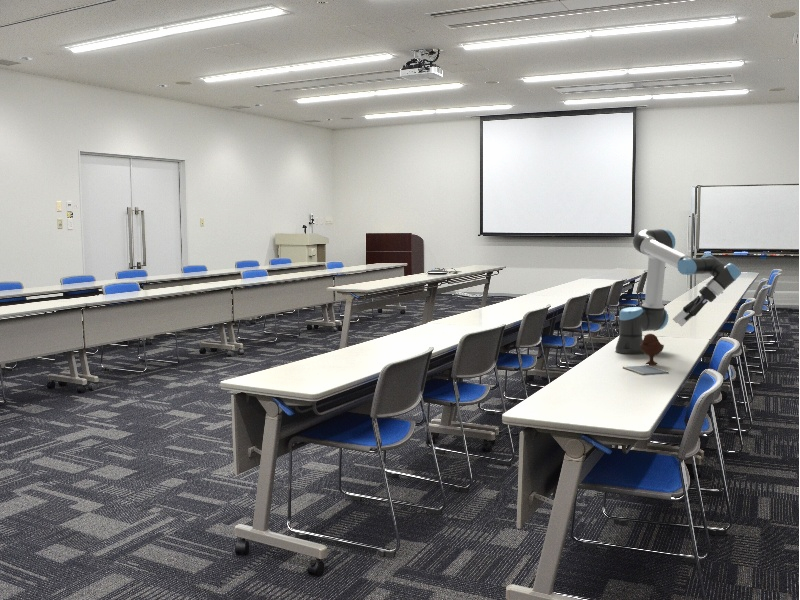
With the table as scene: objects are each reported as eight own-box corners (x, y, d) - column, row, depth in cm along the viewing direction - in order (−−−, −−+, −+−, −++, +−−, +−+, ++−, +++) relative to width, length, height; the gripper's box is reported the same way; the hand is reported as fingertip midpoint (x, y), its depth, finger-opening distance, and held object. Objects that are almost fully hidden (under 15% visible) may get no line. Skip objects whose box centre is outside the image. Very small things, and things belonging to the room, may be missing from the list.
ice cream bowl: (665, 366, 337) (666, 335, 336) (640, 366, 339) (641, 334, 338) (662, 362, 347) (662, 332, 346) (638, 362, 350) (638, 331, 348)
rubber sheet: (622, 368, 335) (622, 366, 335) (647, 366, 338) (647, 365, 338) (642, 375, 319) (642, 373, 318) (668, 373, 321) (668, 371, 321)
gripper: (723, 298, 322) (687, 331, 326) (711, 294, 346) (678, 325, 350) (710, 287, 322) (675, 320, 327) (699, 283, 347) (666, 314, 351)
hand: (676, 322), depth 339 cm, fingers open, 13 cm apart
